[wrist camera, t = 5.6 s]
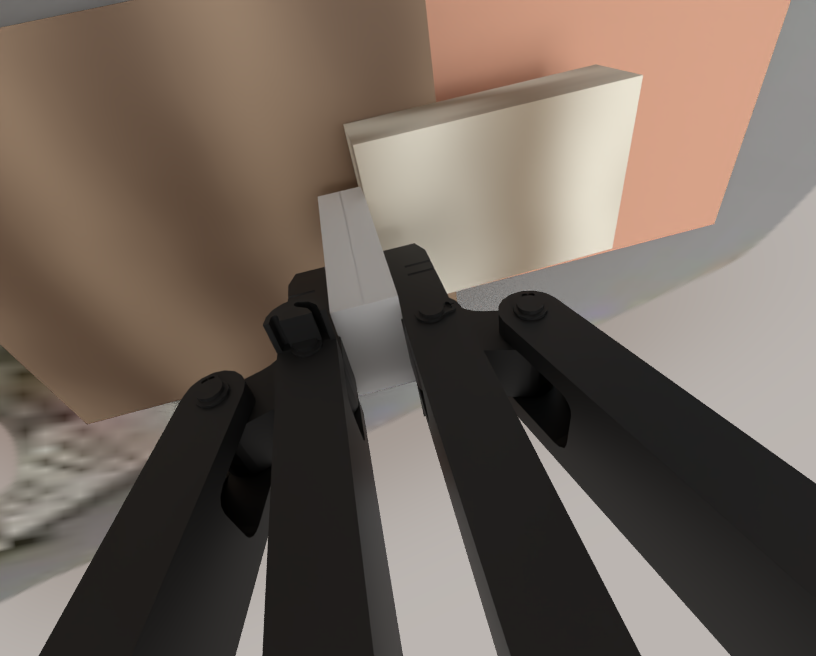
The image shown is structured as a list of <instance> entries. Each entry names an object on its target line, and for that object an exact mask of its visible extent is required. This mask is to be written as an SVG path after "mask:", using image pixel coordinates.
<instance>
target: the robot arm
mask: <svg viewBox="0 0 816 656" xmlns="http://www.w3.org/2000/svg"><path fill="white" fill-rule="evenodd" d="M318 205H319V214H320V224H321V233H322V243H323V252H324V262H325V267H322V268H318V269H314V270H309V271H305V272H301V273H297V274H295V276H294V277H293V279H292V280H291V282H290V284H289V285H288V298H289V299H288V302H285V303H283V304H281V305H280V306H278V307H276V308H275V309H273V310H272V311H271V312H270V313H269V314H268V315H267V317H266V318H265V321H264V323H263V327H264V329H265V331H266V333H267V335H268V337H269V339H270V341H271V343H272V345H273V347H274V349H275V351H276V353H277V360H276V361H275V362H273V363H272V364H271V365H270V366H268V367H266V368H265V369H263V370H261V371H259V372H257V373H255V374H253V375H251V376H249V377H247V378H245V379H244V378H243V376H242V375H241V374H239V373H237V372H236V371H228V370H224V371H219V372H215V373H212V374H210V375H208V376H206V377H204V378H201V379H200V380H199V381H197V382H196V383H195V384H194V385H192V386H191V387H190V388H189V390H188V391H187V392H186V393H185V395H184V396H183V398H182V399H181V401H180V403H179V405H178V407H177V408H176V410H175V412H174V414H173V415H172V417H171V419H170V421H169V423H168V424H167V426H166V428H165V430H164V432H163V433H162V435H161V437H160V439H159V441H158V442H157V444H156V446H155V448H154V450H153V451H152V453H151V455H150V457H149V459H148V460H147V462H146V464H145V466H144V468H143V469H142V471H141V473H140V475H139V477H138V478H137V480H136V482H135V484H134V486H133V487H132V489H131V491H130V493H129V495H128V496H127V498H126V500H125V502H124V504H123V505H122V507H121V509H120V511H119V512H118V514H117V516H116V518H115V520H114V521H113V523H112V525H111V527H110V529H109V530H108V532H107V534H106V536H105V538H104V539H103V541H102V543H101V545H100V547H99V548H98V550H97V552H96V554H95V556H94V557H93V559H92V561H91V563H90V565H89V566H88V568H87V570H86V572H85V574H84V575H83V577H82V579H81V581H80V583H79V584H78V586H77V588H76V590H75V592H74V593H73V595H72V597H71V599H70V601H69V602H68V604H67V606H66V608H65V609H64V611H63V613H62V615H61V617H60V618H59V620H58V622H57V624H56V626H55V628H54V629H53V631H52V633H51V635H50V636H49V638H48V640H47V642H46V644H45V646H44V647H43V649H42V651H41V653H40V654H39V656H235V655H236V651H237V648H238V644H239V640H240V636H241V632H242V629H243V625H244V622H245V618H246V615H247V611H248V607H249V604H250V600H251V596H252V593H253V589H254V585H255V582H256V578H257V574H258V571H259V566H260V563H261V560H262V556H263V552H264V549H265V545H266V541H267V538H268V553H267V574H266V593H265V614H264V635H263V655H262V656H403V653H402V647H401V641H400V635H399V629H398V623H397V617H396V610H395V604H394V598H393V592H392V586H391V580H390V574H389V567H388V561H387V555H386V549H385V543H384V536H383V531H382V524H381V518H380V512H379V506H378V499H377V494H376V487H375V481H374V475H373V469H372V463H371V456H370V450H369V444H368V438H367V432H366V426H365V419H364V413H363V410H362V408H361V405H360V402H359V399H358V393H359V395H360V396H362V395H366V394H370V393H373V392H377V391H381V390H385V389H388V388H392V387H396V386H400V385H403V384H407V383H411V382H415V381H416V382H417V386H418V391H419V395H420V400H421V404H422V409H423V414H424V416H426V419H427V422H428V426H429V429H430V432H431V435H432V439H433V442H434V445H435V449H436V452H437V455H438V459H439V462H440V466H441V469H442V472H443V475H444V478H445V482H446V485H447V489H448V492H449V495H450V499H451V502H452V505H453V508H454V512H455V515H456V518H457V522H458V525H459V529H460V532H461V535H462V539H463V542H464V545H465V549H466V552H467V555H468V559H469V562H470V565H471V569H472V572H473V575H474V578H475V582H476V585H477V588H478V591H479V595H480V598H481V602H482V605H483V608H484V611H485V615H486V618H487V621H488V625H489V628H490V632H491V635H492V638H493V642H494V645H495V648H496V651H497V655H498V656H641V655H640V653H639V651H638V649H637V647H636V645H635V643H634V641H633V639H632V637H631V635H630V633H629V631H628V629H627V628H626V626H625V624H624V622H623V620H622V618H621V616H620V614H619V612H618V610H617V608H616V607H615V604H614V602H613V600H612V598H611V596H610V595H609V593H608V591H607V589H606V587H605V585H604V583H603V581H602V579H601V577H600V575H599V574H598V571H597V569H596V567H595V565H594V564H593V562H592V560H591V558H590V556H589V554H588V552H587V550H586V548H585V546H584V544H583V542H582V540H581V538H580V536H579V534H578V533H577V531H576V529H575V527H574V525H573V523H572V521H571V519H570V517H569V515H568V514H567V511H566V509H565V507H564V505H563V503H562V502H561V500H560V498H559V496H558V494H557V492H556V490H555V488H554V486H553V484H552V482H551V480H550V479H549V476H548V475H547V472H546V471H545V469H544V467H543V465H542V463H541V461H540V459H539V457H538V455H537V453H536V451H535V449H534V447H533V445H532V443H531V441H530V440H529V438H528V436H527V434H526V432H525V430H524V428H523V426H522V424H521V422H520V420H519V418H520V419H521V421H522V422H523V423H524V424H525V425H526V426H527V427H528V428H529V430H530V431H531V432H532V433H533V434H534V435H535V436H536V437H537V439H538V440H539V441H540V442H541V443H542V444H543V445H544V446H545V447H546V449H547V450H548V451H549V452H550V453H551V454H552V455H553V456H554V458H555V459H556V460H557V461H558V462H559V463H560V464H561V465H562V467H563V468H564V469H565V470H566V471H567V472H568V473H569V474H570V476H571V477H572V478H573V479H574V480H575V481H576V482H577V483H578V485H579V486H580V487H581V488H582V489H583V490H584V491H585V492H586V493H587V495H589V497H590V498H591V499H592V500H593V501H594V502H595V504H596V505H597V506H598V507H599V508H600V509H601V510H602V511H603V513H604V514H605V515H606V516H607V517H608V518H609V519H610V520H611V521H612V523H613V524H614V525H615V526H616V527H617V528H618V529H619V531H620V532H621V533H622V534H623V535H624V536H625V537H626V538H627V539H628V541H629V542H630V543H631V544H632V545H633V546H634V547H635V548H636V550H638V552H639V553H640V554H641V555H642V556H643V557H644V558H645V560H646V561H647V562H648V563H649V564H650V565H651V566H652V567H653V569H654V570H655V571H656V572H657V573H658V574H659V575H660V576H661V577H662V579H663V580H664V581H665V582H666V583H667V584H668V585H669V587H670V588H671V589H672V590H673V591H674V592H675V593H676V594H677V596H678V597H679V598H680V599H681V600H682V601H683V602H684V603H685V605H686V606H687V607H688V608H689V609H690V610H691V611H692V612H693V614H694V615H695V616H696V617H697V618H698V619H699V620H700V621H701V623H702V624H703V625H704V626H705V627H706V628H707V629H708V630H709V632H710V633H711V634H712V635H713V636H714V637H715V638H716V639H717V640H718V642H719V643H720V644H721V645H722V646H723V647H724V648H725V649H726V651H727V652H728V653H729V654H730V655H731V656H816V483H814V482H813V481H811V480H810V479H809V478H807V477H806V476H804V475H803V474H802V473H800V472H799V471H797V470H796V469H795V468H793V467H792V466H790V465H789V464H787V463H786V462H785V461H783V460H782V459H780V458H779V457H778V456H776V455H775V454H774V453H772V452H771V451H769V450H768V449H767V448H765V447H764V446H762V445H761V444H760V443H758V442H757V441H755V440H754V439H753V438H751V437H750V436H748V435H747V434H746V433H744V432H743V431H741V430H740V429H739V428H737V427H736V426H734V425H733V424H732V423H730V422H729V421H727V420H726V419H725V418H723V417H722V416H720V415H719V414H718V413H716V412H715V411H713V410H712V409H710V408H709V407H708V406H706V405H705V404H703V403H702V402H701V401H699V400H698V399H696V398H695V397H694V396H692V395H691V394H689V393H688V392H687V391H685V390H684V389H682V388H681V387H679V386H678V385H677V384H675V383H674V382H673V381H671V380H670V379H668V378H667V377H665V376H664V375H663V374H661V373H660V372H659V371H657V370H656V369H654V368H653V367H652V366H650V365H649V364H647V363H646V362H645V361H643V360H642V359H640V358H639V357H638V356H636V355H635V354H633V353H632V352H630V351H629V350H628V349H626V348H625V347H624V346H622V345H621V344H619V343H618V342H617V341H615V340H613V339H612V338H611V337H609V336H608V335H607V334H605V333H604V332H603V331H601V330H599V329H598V328H597V327H595V326H594V325H593V324H591V323H590V322H588V321H587V320H586V319H584V318H583V317H581V316H580V315H579V314H577V313H576V312H574V311H573V310H572V309H570V308H569V307H567V306H566V305H565V304H563V303H562V302H560V301H559V300H558V299H556V298H555V297H553V296H551V295H549V294H547V293H543V292H538V291H521V292H517V293H514V294H511V295H509V296H508V297H506V298H505V299H503V300H502V302H501V303H500V305H499V311H471V310H467V309H463V308H461V306H460V305H459V304H458V303H457V302H456V300H454V299H451V298H449V296H448V294H447V292H446V290H445V288H444V286H443V284H442V282H441V280H440V278H439V276H438V274H437V272H436V270H435V269H434V266H433V264H432V262H431V261H430V258H429V256H428V254H427V252H426V250H425V249H423V248H421V247H420V246H418V245H417V244H415V243H413V244H409V245H405V246H401V247H397V248H393V249H389V250H385V251H383V250H382V247H381V244H380V241H379V238H378V235H377V232H376V229H375V226H374V223H373V220H372V217H371V214H370V211H369V208H368V205H367V202H366V199H365V196H364V194H363V191H362V189H361V186H360V187H356V188H352V189H348V190H343V191H339V192H335V193H331V194H327V195H322V196H318ZM357 390H358V392H357ZM518 417H519V418H518Z"/></svg>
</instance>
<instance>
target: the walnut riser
mask: <svg viewBox="0 0 816 656" xmlns="http://www.w3.org/2000/svg"><path fill="white" fill-rule="evenodd" d="M435 102H436V98H435V88H434V79H433V69H432V59H431V50H430V40H429V31H428V21H427V12H426V2H425V0H131V1H126V2H122V3H117V4H112V5H107V6H102V7H98V8H93V9H88V10H83V11H78V12H73V13H69V14H64V15H59V16H54V17H49V18H45V19H40V20H35V21H30V22H25V23H20V24H16V25H11V26H6V27H1V28H0V344H1V345H2V346H3V347H4V348H5V349H6V350H7V351H8V352H9V353H10V354H11V355H12V356H14V357H15V358H16V359H17V360H18V361H19V362H20V363H21V364H22V365H23V366H24V367H25V368H27V369H28V370H29V371H30V372H31V373H32V374H33V375H34V376H35V377H36V378H37V379H38V380H40V381H41V382H42V383H43V384H44V385H45V386H46V387H47V388H48V389H49V390H50V391H51V392H53V393H54V394H55V395H56V396H57V397H58V398H59V399H60V400H61V401H62V402H63V403H64V404H65V405H67V406H68V407H69V408H70V409H71V410H72V411H73V412H74V413H75V414H76V415H77V416H78V417H80V418H81V419H82V420H83V421H84V422H85V423H86V424H90V423H94V422H98V421H102V420H105V419H109V418H113V417H117V416H120V415H124V414H128V413H132V412H136V411H139V410H143V409H147V408H151V407H154V406H158V405H162V404H166V403H169V402H173V401H177V400H181V399H182V398H183V396H184V395H185V393H186V392H187V391H188V390H189V388H190V387H191V386H192V385H194V384H195V383H196V382H197V381H199V380H200V379H201V378H204V377H206V376H208V375H210V374H212V373H215V372H219V371H224V370H228V371H236V372H237V373H239V374H241V375H242V376H243V378H244V379H245V378H247V377H249V376H251V375H253V374H255V373H257V372H259V371H261V370H263V369H265V368H266V367H268V366H270V365H271V364H272V363H273V362H275V361H276V360H277V353H276V351H275V349H274V347H273V345H272V343H271V341H270V339H269V337H268V335H267V333H266V331H265V329H264V327H263V323H264V321H265V318H266V317H267V315H268V314H269V313H270V312H271V311H272V310H273V309H275V308H276V307H278V306H280V305H281V304H283V303H285V302H288V299H289V298H288V285H289V284H290V282H291V280H292V279H293V277H294V276H295V274H297V273H301V272H305V271H309V270H314V269H318V268H322V267H325V262H324V252H323V243H322V233H321V224H320V214H319V205H318V196H322V195H327V194H331V193H335V192H339V191H343V190H348V189H352V188H356V187H358V184H357V179H356V175H355V171H354V167H353V163H352V159H351V155H350V151H349V146H348V142H347V138H346V134H345V130H344V126H343V124H347V123H351V122H355V121H359V120H364V119H368V118H372V117H376V116H381V115H385V114H389V113H393V112H397V111H402V110H406V109H410V108H414V107H418V106H423V105H427V104H431V103H435ZM448 296H449V298H451V299H454V300H456V302H457V298H456V292H452V293H448Z"/></svg>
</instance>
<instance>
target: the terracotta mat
mask: <svg viewBox="0 0 816 656" xmlns="http://www.w3.org/2000/svg"><path fill="white" fill-rule="evenodd" d="M790 1H791V0H425V2H426V12H427V21H428V31H429V40H430V50H431V59H432V69H433V79H434V88H435V98H436V102H439V101H444V100H448V99H452V98H456V97H461V96H465V95H469V94H473V93H477V92H482V91H486V90H490V89H494V88H498V87H503V86H507V85H511V84H515V83H519V82H524V81H528V80H532V79H536V78H541V77H545V76H549V75H553V74H557V73H562V72H566V71H570V70H574V69H578V68H583V67H587V66H591V65H595V64H597V65H601V66H605V67H610V68H614V69H619V70H623V71H627V72H632V73H636V74H641V75H643V79H642V85H641V90H640V96H639V101H638V107H637V113H636V118H635V124H634V129H633V135H632V141H631V146H630V152H629V157H628V163H627V169H626V174H625V180H624V185H623V191H622V197H621V202H620V208H619V213H618V219H617V225H616V230H615V236H614V241H613V247H612V249H609V250H605V251H602V252H598V253H594V254H591V255H587V256H583V257H580V258H576V259H572V260H569V261H565V262H562V263H566V262H570V261H574V260H578V259H582V258H585V257H589V256H593V255H597V254H601V253H605V252H608V251H612V250H616V249H620V248H624V247H628V246H631V245H635V244H639V243H643V242H647V241H651V240H654V239H658V238H662V237H666V236H670V235H674V234H677V233H681V232H685V231H689V230H693V229H697V228H700V227H704V226H708V225H712V224H714V223H715V220H716V217H717V214H718V211H719V208H720V205H721V202H722V200H723V197H724V194H725V191H726V188H727V185H728V182H729V179H730V176H731V173H732V170H733V167H734V165H735V162H736V159H737V156H738V153H739V150H740V147H741V144H742V141H743V138H744V135H745V132H746V130H747V127H748V124H749V121H750V118H751V115H752V112H753V109H754V106H755V103H756V100H757V98H758V95H759V92H760V89H761V86H762V83H763V80H764V77H765V74H766V71H767V68H768V65H769V63H770V60H771V57H772V54H773V51H774V48H775V45H776V42H777V39H778V36H779V33H780V31H781V28H782V25H783V22H784V19H785V16H786V13H787V10H788V7H789V4H790ZM562 263H558V264H554V265H551V266H555V265H559V264H562ZM551 266H547V267H551ZM547 267H543V268H547ZM543 268H540V269H543ZM536 270H539V269H536ZM536 270H532V271H536ZM532 271H529V272H532ZM525 273H528V272H525ZM521 274H524V273H521ZM518 275H520V274H518ZM514 276H516V275H514ZM510 277H513V276H510ZM507 278H509V277H507ZM503 279H505V278H503ZM499 280H501V279H499ZM496 281H497V280H496ZM492 282H493V281H492ZM489 283H490V282H489ZM485 284H486V283H485ZM481 285H482V284H481ZM470 288H471V287H470Z"/></svg>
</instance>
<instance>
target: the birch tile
mask: <svg viewBox="0 0 816 656" xmlns="http://www.w3.org/2000/svg"><path fill="white" fill-rule="evenodd" d="M642 79H643V75H641V74H636V73H632V72H627V71H623V70H619V69H614V68H610V67H605V66H601V65H597V64H595V65H591V66H587V67H583V68H578V69H574V70H570V71H566V72H562V73H557V74H553V75H549V76H545V77H541V78H536V79H532V80H528V81H524V82H519V83H515V84H511V85H507V86H503V87H498V88H494V89H490V90H486V91H482V92H477V93H473V94H469V95H465V96H461V97H456V98H452V99H448V100H444V101H439V102H435V103H431V104H427V105H423V106H418V107H414V108H410V109H406V110H402V111H397V112H393V113H389V114H385V115H381V116H376V117H372V118H368V119H364V120H359V121H355V122H351V123H347V124H343V126H344V130H345V134H346V138H347V142H348V146H349V151H350V155H351V159H352V163H353V167H354V171H355V175H356V179H357V184H358V187H360V186H361V189H362V191H363V194H364V196H365V199H366V202H367V205H368V208H369V211H370V214H371V217H372V220H373V223H374V226H375V229H376V232H377V235H378V238H379V241H380V244H381V247H382V250H383V251H385V250H389V249H393V248H397V247H401V246H405V245H409V244H413V243H415V244H417V245H418V246H420V247H421V248H423V249H425V250H426V252H427V254H428V256H429V258H430V261H431V262H432V264H433V266H434V269H435V270H436V272H437V274H438V276H439V278H440V280H441V282H442V284H443V286H444V288H445V290H446V292H447V294H448V293H452V292H456V291H459V290H463V289H467V288H470V287H474V286H478V285H481V284H485V283H489V282H492V281H496V280H499V279H503V278H507V277H510V276H514V275H518V274H521V273H525V272H529V271H532V270H536V269H540V268H543V267H547V266H551V265H554V264H558V263H562V262H565V261H569V260H572V259H576V258H580V257H583V256H587V255H591V254H594V253H598V252H602V251H605V250H609V249H612V247H613V241H614V236H615V230H616V225H617V219H618V213H619V208H620V202H621V197H622V191H623V185H624V180H625V174H626V169H627V163H628V157H629V152H630V146H631V141H632V135H633V129H634V124H635V118H636V113H637V107H638V101H639V96H640V90H641V85H642Z"/></svg>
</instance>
